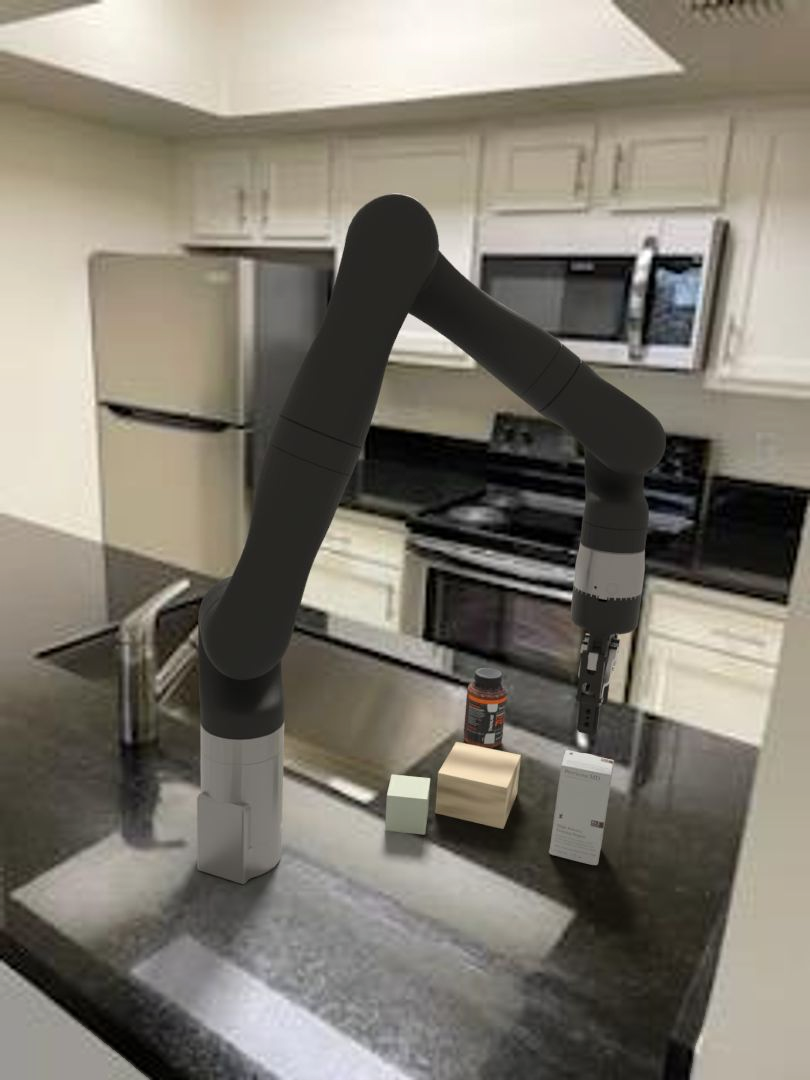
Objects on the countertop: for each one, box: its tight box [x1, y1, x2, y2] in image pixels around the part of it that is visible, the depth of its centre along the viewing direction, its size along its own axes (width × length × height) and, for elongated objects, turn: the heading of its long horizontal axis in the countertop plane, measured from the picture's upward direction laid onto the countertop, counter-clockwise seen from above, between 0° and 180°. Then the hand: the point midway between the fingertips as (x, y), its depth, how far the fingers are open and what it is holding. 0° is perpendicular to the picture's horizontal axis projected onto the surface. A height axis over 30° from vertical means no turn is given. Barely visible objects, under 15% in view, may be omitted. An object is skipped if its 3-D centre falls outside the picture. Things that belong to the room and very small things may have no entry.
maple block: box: [434, 741, 522, 830], centre depth 111 cm, size 9×9×6 cm
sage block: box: [384, 773, 431, 836], centre depth 106 cm, size 5×5×5 cm
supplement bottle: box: [463, 667, 508, 749], centre depth 127 cm, size 6×6×11 cm
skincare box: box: [548, 749, 615, 866], centre depth 101 cm, size 6×4×12 cm
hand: (592, 716), depth 98 cm, fingers open, 8 cm apart
